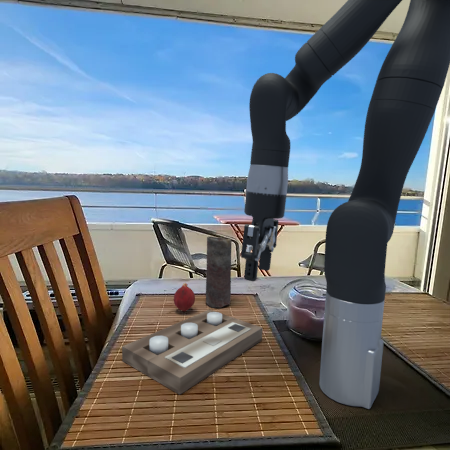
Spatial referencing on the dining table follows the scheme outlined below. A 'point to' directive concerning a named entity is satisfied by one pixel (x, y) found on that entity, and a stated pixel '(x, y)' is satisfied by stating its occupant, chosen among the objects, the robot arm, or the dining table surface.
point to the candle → (218, 272)
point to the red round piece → (184, 298)
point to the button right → (214, 318)
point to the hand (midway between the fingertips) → (257, 274)
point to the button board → (192, 351)
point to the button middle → (189, 330)
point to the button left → (158, 344)
